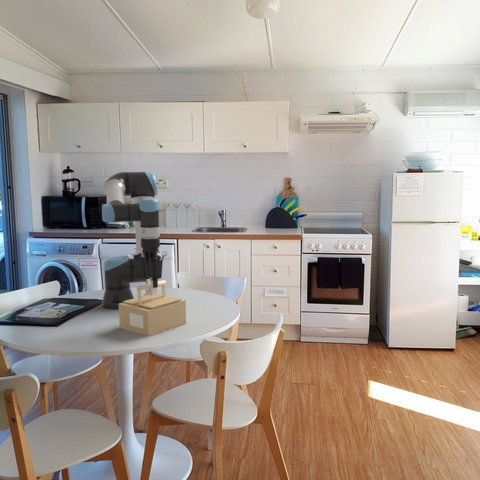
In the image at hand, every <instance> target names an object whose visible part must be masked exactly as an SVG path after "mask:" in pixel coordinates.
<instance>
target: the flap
mask: <svg viewBox="0 0 480 480" xmlns="http://www.w3.org/2000/svg"><path fill="white" fill-rule="evenodd" d="M166 285H167V281H166V280H165V279H163V280H158V287H159V286H161V287H162V288H161V289H162V291H161V292H162V295H163V297H160V298H156V299H152V300H148V301H145V302H142V299H141V297H142V290H145V289H148V288H151V283H149V284H146V283H145V284H141V285H137V286H136V290H137V298H138V303H137V304H136V305H137V306H141V307H146V308H150V309H153V308H157V307H160V306H164V305H167V304H171V303H174V302H178V301H181V300H183V299H182V298H180V297H179V298H178V297H173V296H170V295H167V286H166Z"/></svg>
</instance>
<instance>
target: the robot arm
mask: <svg viewBox="0 0 480 480" xmlns="http://www.w3.org/2000/svg"><path fill="white" fill-rule="evenodd" d="M157 185H158V184H157V180H156V176H155V174H154V173H153V172H150V171H148V172H147V171H128V172H127V171H123V172H122V171H121V172H117V173H114V174H113V175H111V176H110V177H108V178H107V179H106V181H105V182H104V185H103V187H104V188H103V190H104V194H105V195H106V203H103V204H101V217H102V221H103V222H104V223H111V224H112V223H124V222H125V223H126V222H134V228H135V231H134V232H135V248H136V251H135V252H134V253H133V255H132V257H133V258H130V256H129V255H118V256H113V257H110V258H107V259H106V260H105V261H104V264H103V266H104V268H103V271H104V294H103V298H102V300H101V306H102V307H101V308H104V309H108V310H110V309H111V310H112V309H113V310H115V309H116V310H117V309H118V310H119V304H120V303H123V301H126V300H130V299H134V294H133V293H132V290H131V283H132V284H133V283H145V284H149V283H151V288H148V289H147V295H151V296H155V295H157V294H158V287H159V286H158V281H159V280H160V279H162V274H163V263H164V262H163V261H164V258H165V255H164V254H162V255H161V253H160V250H159V248H160V247H161V238H159V237H160V236H161V235H160V233H161V232H160V231H161V230H160V212H159V211H160V205H159V200H158V199H157V198H155V197H156V196H158V186H157ZM125 197H130V201H131V202H133V203H125Z"/></svg>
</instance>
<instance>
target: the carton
mask: <svg viewBox="0 0 480 480" xmlns="http://www.w3.org/2000/svg"><path fill="white" fill-rule="evenodd" d="M160 297H163V294H162V295H161V294H158V293H157V295H155V296H151V295H146V296H144V295H143V296H142V295H141V299H142V302H145V301H148V300H152V299H156V298H160ZM133 298H134V297H133ZM137 303H138V297H135V298H134V299H130V300H126V301H123V303H120V304H119V309H118V316H119V317H118V321H119V323H118V324H119V328H120V329H122V330H126V331H128V332H132V333H136V334H140V335H143V336H146V337H151V336H154V335H157V334H160V333H163V332H167V331H169V330H172V329H175V328H178V327H181V326H183V325H186V324H187V303H186V299H182V300H181V301H178V302H174V303H171V304H167V305H164V306H160V307H157V308H153V309H150V308H146V307H141V306H137V305H136V304H137Z"/></svg>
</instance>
